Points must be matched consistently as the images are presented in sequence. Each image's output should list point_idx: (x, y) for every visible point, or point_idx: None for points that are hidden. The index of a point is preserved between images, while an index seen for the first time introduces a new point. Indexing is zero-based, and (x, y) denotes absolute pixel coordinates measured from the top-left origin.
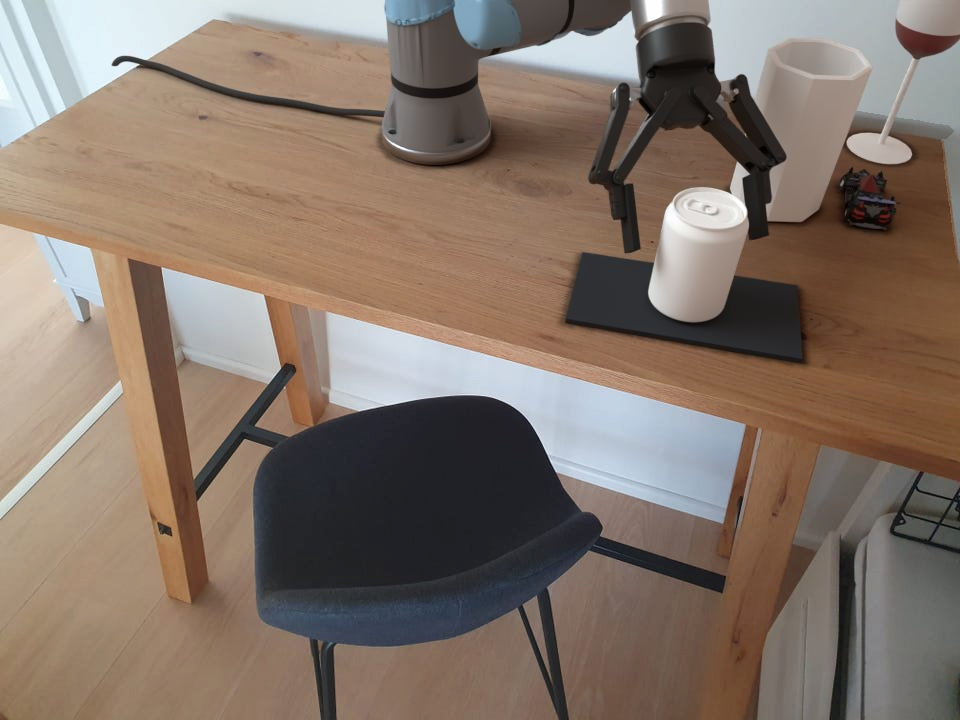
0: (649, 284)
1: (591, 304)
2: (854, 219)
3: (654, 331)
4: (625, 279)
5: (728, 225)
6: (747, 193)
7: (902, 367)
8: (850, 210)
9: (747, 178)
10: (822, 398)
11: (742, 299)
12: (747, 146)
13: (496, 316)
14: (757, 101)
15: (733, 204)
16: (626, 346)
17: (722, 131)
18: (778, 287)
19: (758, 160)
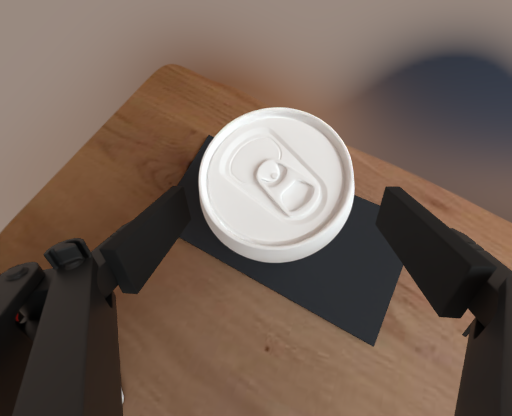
0: (305, 257)
1: (383, 237)
2: (21, 315)
3: None
4: (330, 273)
5: (259, 123)
6: (153, 256)
7: (140, 123)
8: None
9: (133, 272)
10: (216, 105)
11: None
12: (66, 315)
13: (500, 249)
14: None
15: (216, 182)
16: (354, 179)
17: (91, 412)
18: None
19: (80, 272)
